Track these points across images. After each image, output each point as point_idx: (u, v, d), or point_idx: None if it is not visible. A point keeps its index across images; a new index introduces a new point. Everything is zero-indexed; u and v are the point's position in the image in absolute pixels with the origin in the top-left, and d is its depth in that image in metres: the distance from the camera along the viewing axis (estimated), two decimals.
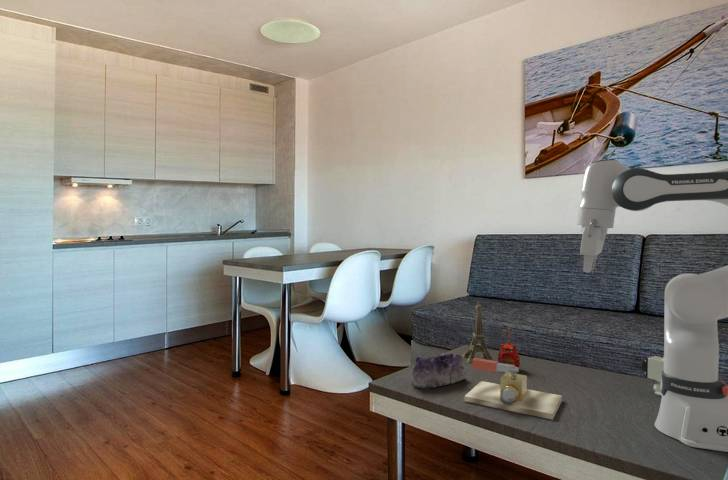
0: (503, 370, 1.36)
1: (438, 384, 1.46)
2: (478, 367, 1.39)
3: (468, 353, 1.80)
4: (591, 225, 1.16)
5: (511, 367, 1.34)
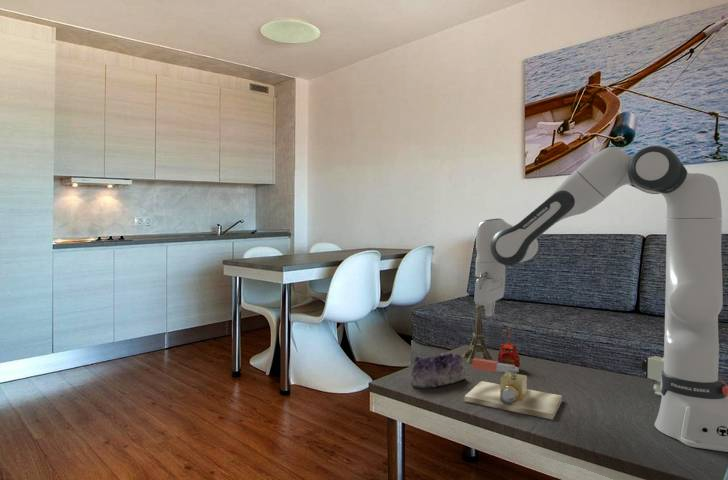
0: (503, 370, 1.36)
1: (437, 384, 1.46)
2: (478, 367, 1.39)
3: (468, 353, 1.80)
4: (480, 279, 1.35)
5: (511, 367, 1.34)
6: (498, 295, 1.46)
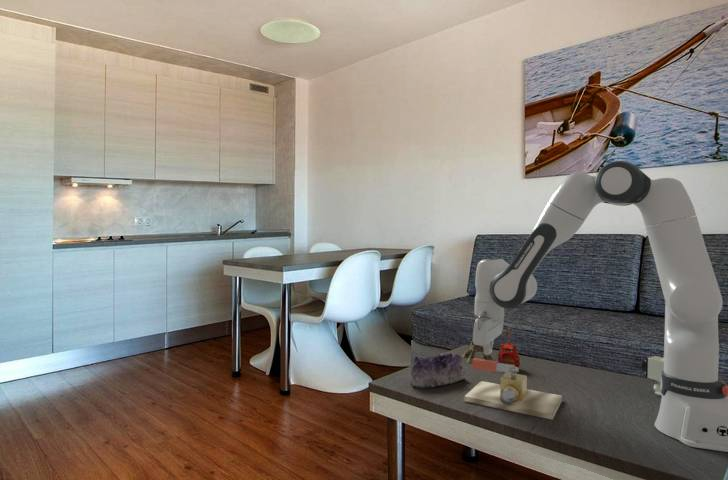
0: (503, 370, 1.36)
1: (437, 384, 1.46)
2: (478, 367, 1.39)
3: (468, 353, 1.80)
4: (479, 320, 1.35)
5: (511, 367, 1.34)
6: (497, 333, 1.46)
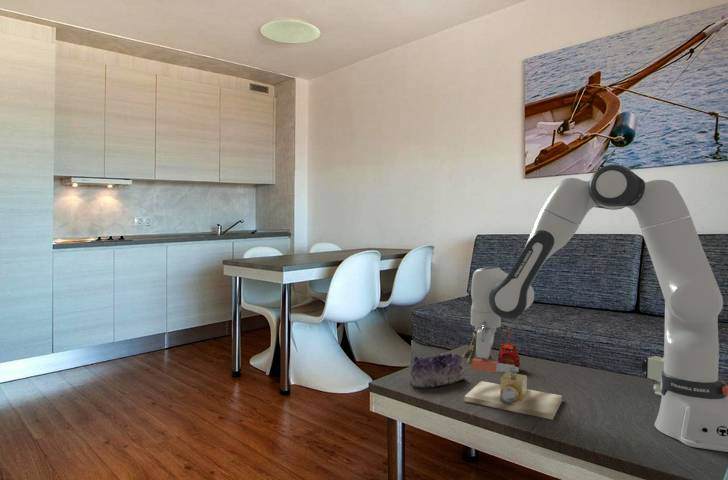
0: (503, 370, 1.35)
1: (436, 384, 1.46)
2: (478, 367, 1.39)
3: (468, 353, 1.80)
4: (483, 331, 1.31)
5: (511, 367, 1.34)
6: None
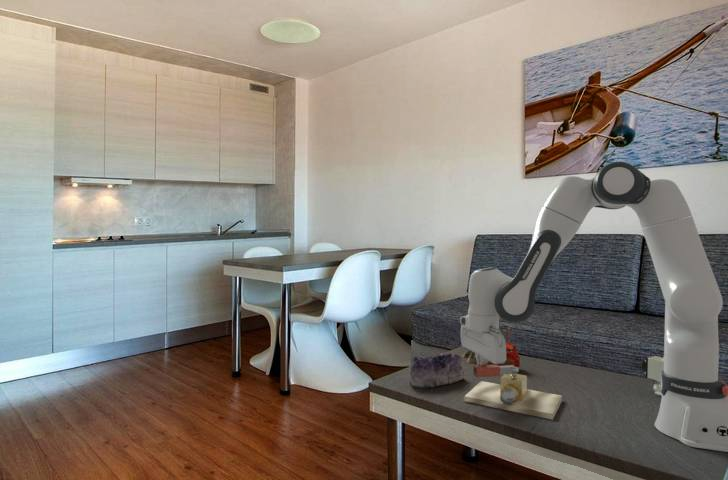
0: (506, 372, 1.34)
1: (436, 384, 1.46)
2: (483, 375, 1.32)
3: (468, 353, 1.80)
4: (502, 336, 1.25)
5: (513, 368, 1.34)
6: None
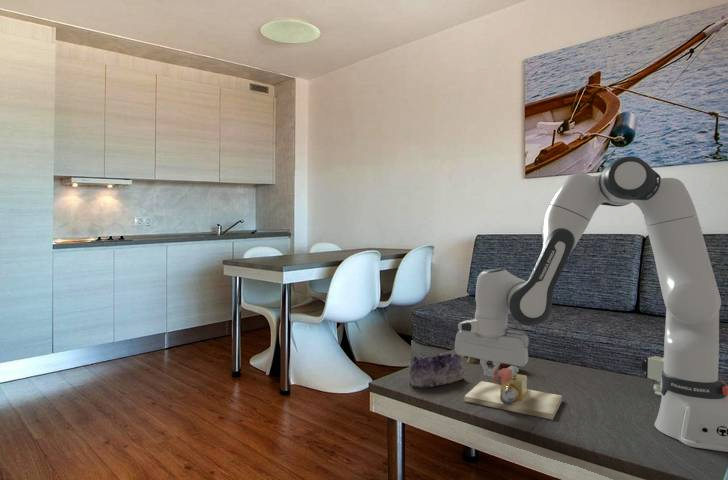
0: (513, 374, 1.32)
1: (435, 384, 1.46)
2: (504, 381, 1.26)
3: None
4: None
5: (516, 368, 1.34)
6: None
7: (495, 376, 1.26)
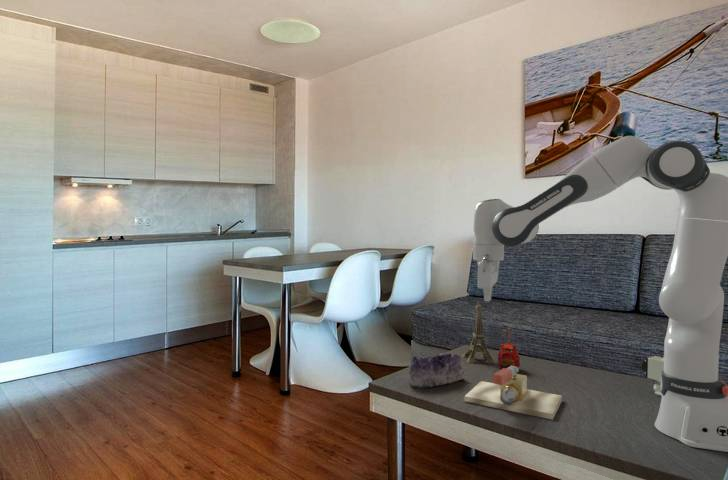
0: (513, 374, 1.32)
1: (435, 384, 1.46)
2: (504, 381, 1.26)
3: (468, 353, 1.80)
4: (484, 261, 1.28)
5: (516, 368, 1.34)
6: (495, 279, 1.40)
7: (495, 376, 1.26)
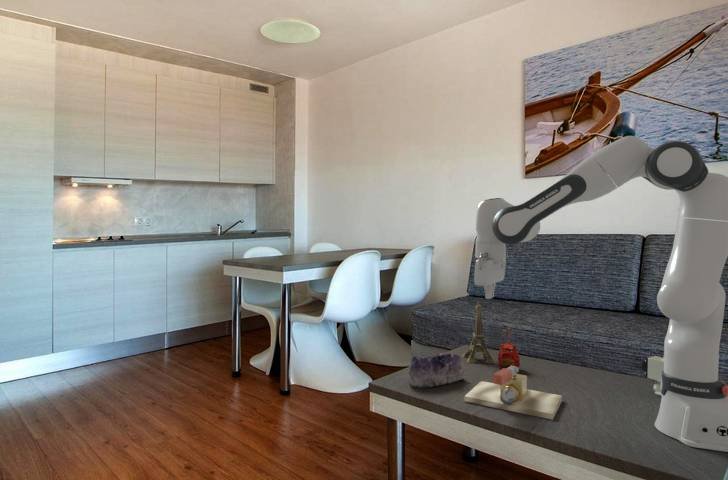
0: (513, 374, 1.32)
1: (435, 384, 1.46)
2: (504, 381, 1.26)
3: (468, 353, 1.80)
4: (480, 259, 1.31)
5: (516, 368, 1.34)
6: (498, 277, 1.42)
7: (495, 376, 1.26)
